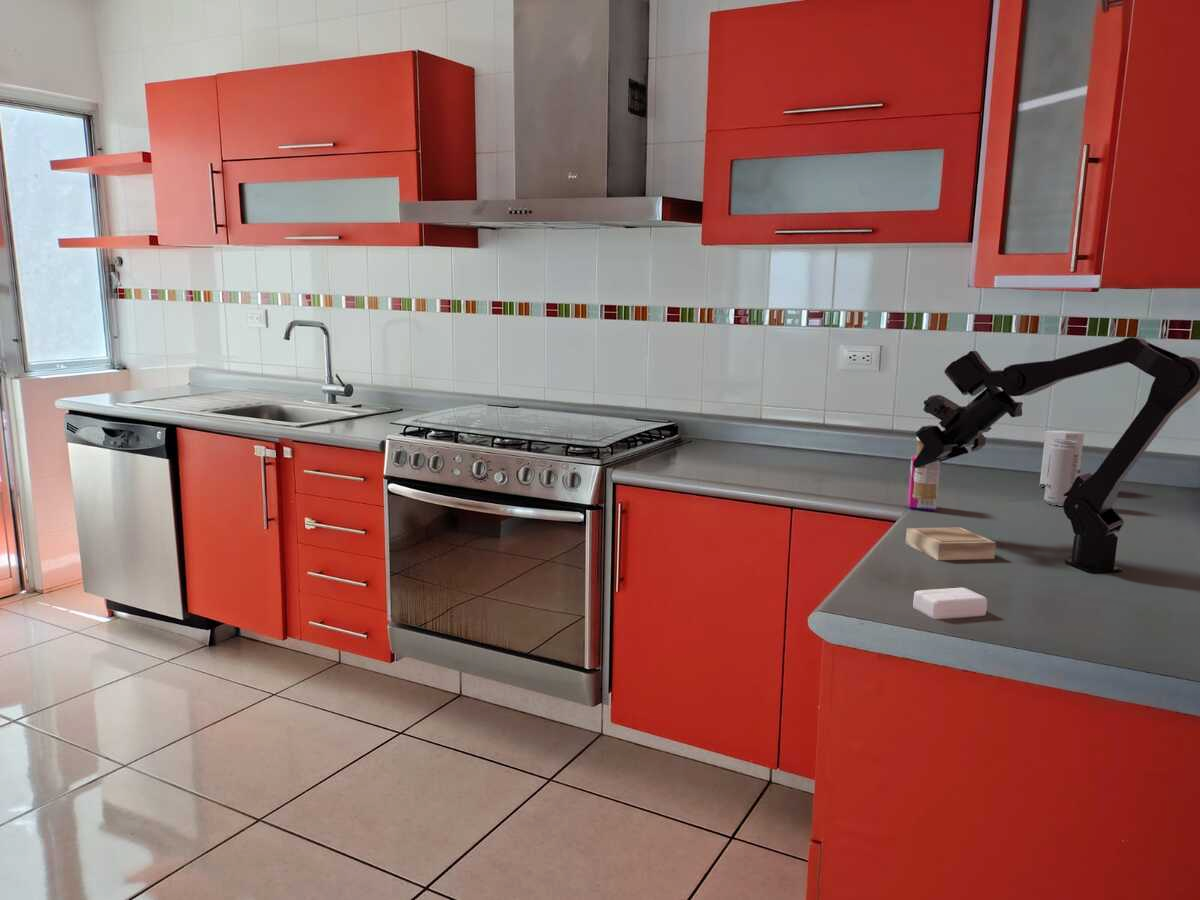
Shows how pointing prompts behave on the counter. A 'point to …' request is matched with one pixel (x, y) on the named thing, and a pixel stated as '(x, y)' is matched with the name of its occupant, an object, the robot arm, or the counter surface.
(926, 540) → the beech tray
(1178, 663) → the counter surface
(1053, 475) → the energy drink can
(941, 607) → the soap
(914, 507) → the supplement box
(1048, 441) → the skincare box
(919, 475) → the sprinkles bottle
